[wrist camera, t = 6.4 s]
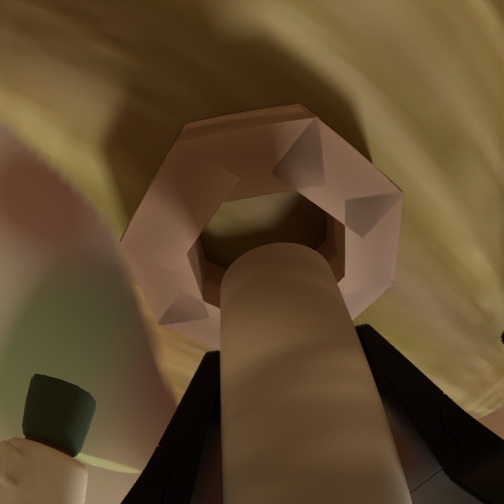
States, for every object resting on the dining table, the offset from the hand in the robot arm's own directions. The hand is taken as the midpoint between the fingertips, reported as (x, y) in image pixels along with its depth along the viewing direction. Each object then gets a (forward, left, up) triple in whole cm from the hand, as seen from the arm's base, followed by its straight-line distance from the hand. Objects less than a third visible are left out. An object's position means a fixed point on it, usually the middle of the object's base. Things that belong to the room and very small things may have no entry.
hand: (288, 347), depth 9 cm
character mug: (+19, +12, -7) cm, 24 cm away
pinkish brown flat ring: (0, 0, -7) cm, 7 cm away
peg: (0, 0, -2) cm, 3 cm away
